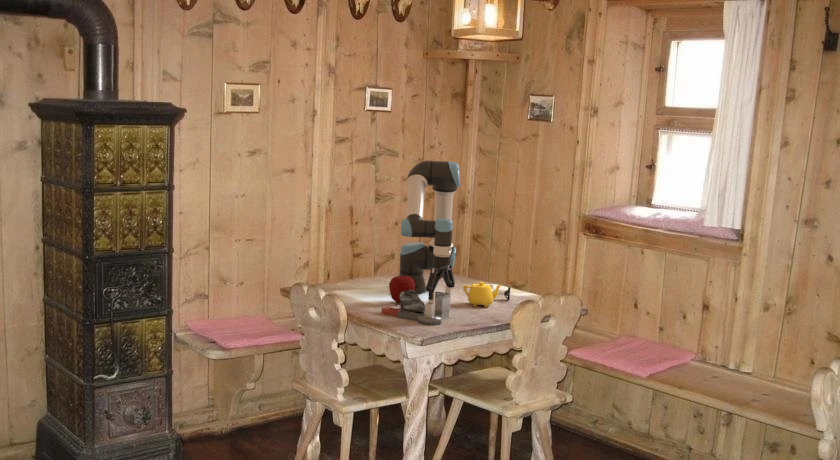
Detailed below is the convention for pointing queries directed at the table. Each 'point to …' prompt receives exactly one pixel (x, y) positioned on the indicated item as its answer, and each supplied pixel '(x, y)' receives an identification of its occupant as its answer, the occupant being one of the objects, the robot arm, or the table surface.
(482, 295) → the teapot
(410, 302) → the rock
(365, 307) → the table surface
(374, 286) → the table surface
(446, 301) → the grey upright rectangular block
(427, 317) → the ratchet
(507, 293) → the valve
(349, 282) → the table surface
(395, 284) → the apple
